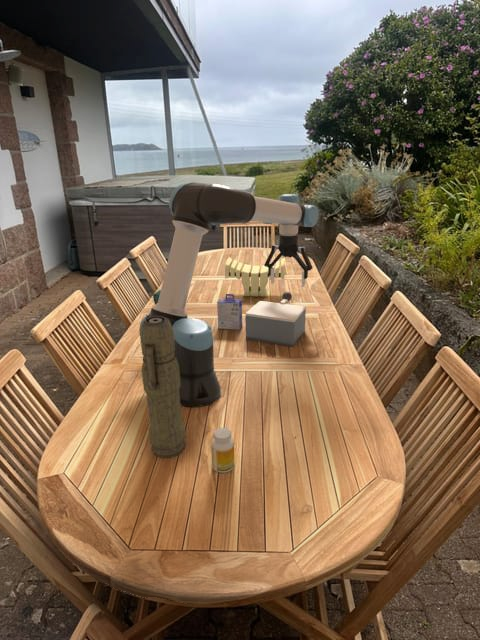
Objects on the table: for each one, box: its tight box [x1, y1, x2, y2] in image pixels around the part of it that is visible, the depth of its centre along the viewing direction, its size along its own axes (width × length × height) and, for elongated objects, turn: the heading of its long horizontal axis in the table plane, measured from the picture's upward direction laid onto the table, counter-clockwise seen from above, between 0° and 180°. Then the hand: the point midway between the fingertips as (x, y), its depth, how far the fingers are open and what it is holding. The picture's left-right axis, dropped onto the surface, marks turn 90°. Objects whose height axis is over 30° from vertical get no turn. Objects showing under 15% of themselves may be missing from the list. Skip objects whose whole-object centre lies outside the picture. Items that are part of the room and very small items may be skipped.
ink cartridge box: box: [216, 293, 243, 331], centre depth 178 cm, size 10×6×14 cm, turn 78°
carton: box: [244, 309, 307, 348], centre depth 170 cm, size 16×20×10 cm
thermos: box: [139, 316, 186, 459], centre depth 101 cm, size 9×12×35 cm
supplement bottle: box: [210, 427, 235, 474], centre depth 99 cm, size 5×5×10 cm
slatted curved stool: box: [224, 256, 286, 298], centre depth 220 cm, size 30×16×18 cm, turn 84°
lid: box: [245, 291, 307, 322], centre depth 171 cm, size 24×20×4 cm
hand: (287, 284), depth 178 cm, fingers open, 13 cm apart
